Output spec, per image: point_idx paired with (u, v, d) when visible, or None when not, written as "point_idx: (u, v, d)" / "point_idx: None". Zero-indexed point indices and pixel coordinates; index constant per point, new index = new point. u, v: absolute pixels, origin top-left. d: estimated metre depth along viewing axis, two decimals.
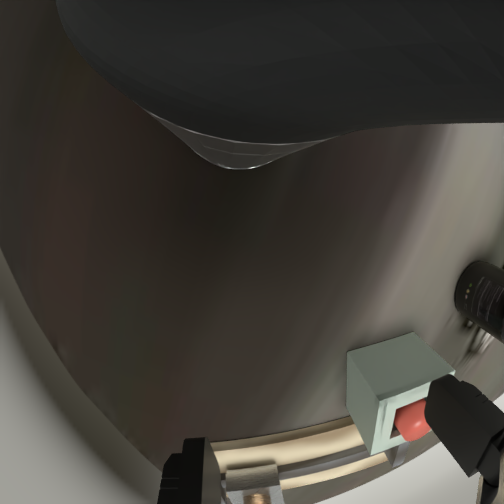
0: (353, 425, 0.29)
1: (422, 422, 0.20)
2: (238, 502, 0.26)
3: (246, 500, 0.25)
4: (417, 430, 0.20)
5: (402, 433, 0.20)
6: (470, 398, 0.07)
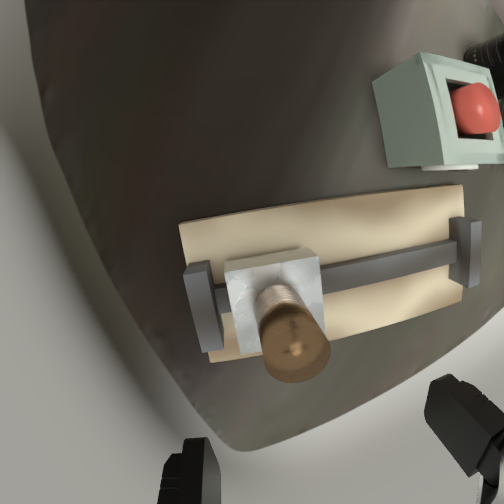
0: (404, 192, 0.23)
1: (483, 97, 0.13)
2: (245, 319, 0.19)
3: (260, 297, 0.18)
4: (484, 110, 0.14)
5: (468, 106, 0.14)
6: (470, 398, 0.07)
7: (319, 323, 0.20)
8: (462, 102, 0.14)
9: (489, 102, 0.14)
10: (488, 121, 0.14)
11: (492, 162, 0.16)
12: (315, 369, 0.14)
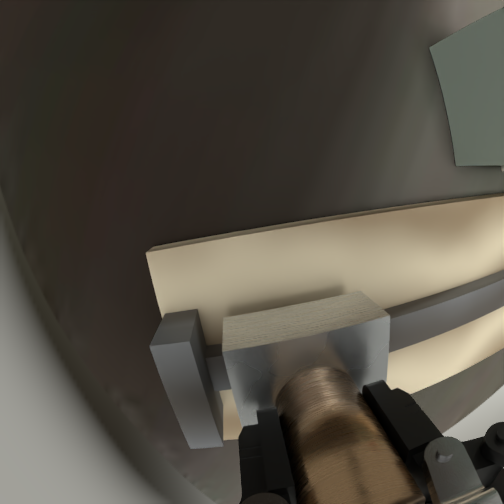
0: (479, 202, 0.14)
1: None
2: None
3: (289, 392, 0.09)
4: None
5: None
6: (397, 407, 0.08)
7: None
8: None
9: None
10: None
11: None
12: None
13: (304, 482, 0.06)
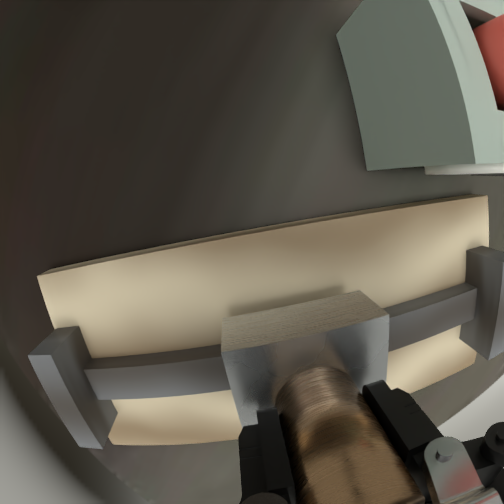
0: (394, 213, 0.13)
1: None
2: None
3: (288, 392, 0.09)
4: None
5: None
6: (396, 407, 0.08)
7: None
8: (498, 40, 0.05)
9: None
10: None
11: None
12: None
13: (303, 482, 0.06)
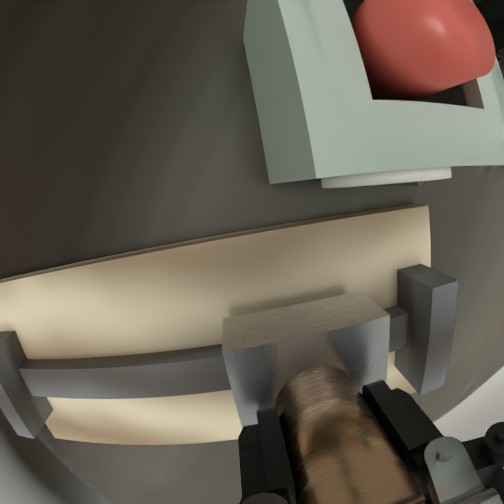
0: (293, 231, 0.13)
1: None
2: None
3: (289, 392, 0.09)
4: (443, 19, 0.04)
5: (388, 7, 0.04)
6: (396, 407, 0.08)
7: None
8: (374, 6, 0.05)
9: (457, 7, 0.04)
10: (460, 48, 0.04)
11: (483, 162, 0.07)
12: None
13: (304, 482, 0.06)
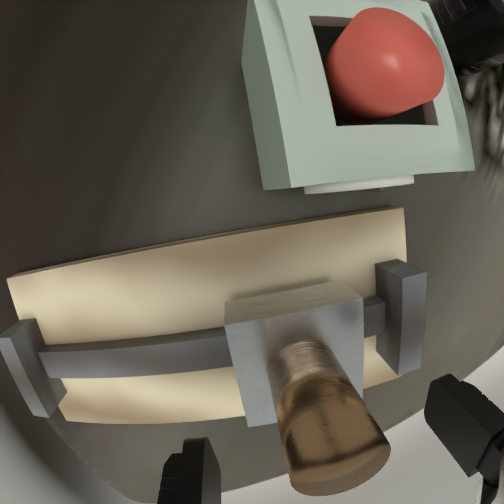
0: (282, 230, 0.16)
1: (395, 33, 0.07)
2: (254, 386, 0.13)
3: (279, 360, 0.12)
4: (395, 58, 0.07)
5: (348, 52, 0.07)
6: (470, 398, 0.07)
7: (356, 385, 0.13)
8: (340, 50, 0.08)
9: (411, 43, 0.07)
10: (407, 80, 0.07)
11: (434, 170, 0.09)
12: (363, 477, 0.07)
13: (288, 426, 0.08)
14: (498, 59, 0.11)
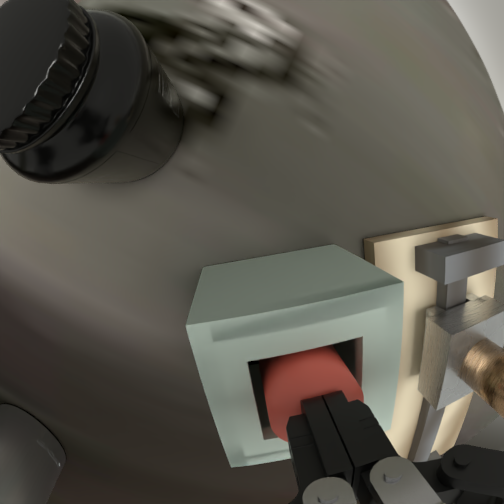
0: None
1: None
2: None
3: (466, 383, 0.14)
4: None
5: None
6: (350, 420, 0.08)
7: (499, 317, 0.14)
8: None
9: None
10: None
11: (400, 338, 0.11)
12: None
13: (501, 414, 0.10)
14: (168, 91, 0.11)
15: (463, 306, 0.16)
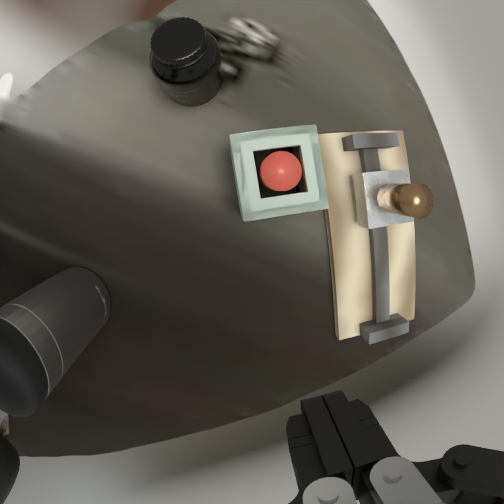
0: (328, 197, 0.34)
1: (274, 171, 0.26)
2: (394, 218, 0.30)
3: (384, 209, 0.29)
4: (285, 173, 0.26)
5: (285, 190, 0.27)
6: (350, 420, 0.08)
7: (399, 172, 0.29)
8: None
9: (276, 165, 0.26)
10: (293, 170, 0.26)
11: (319, 149, 0.26)
12: (428, 191, 0.24)
13: (404, 214, 0.26)
14: None
15: None
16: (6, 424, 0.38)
